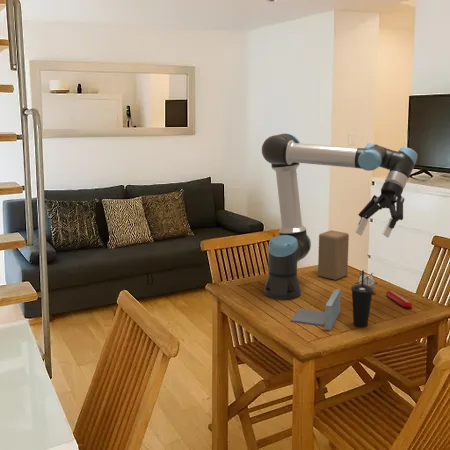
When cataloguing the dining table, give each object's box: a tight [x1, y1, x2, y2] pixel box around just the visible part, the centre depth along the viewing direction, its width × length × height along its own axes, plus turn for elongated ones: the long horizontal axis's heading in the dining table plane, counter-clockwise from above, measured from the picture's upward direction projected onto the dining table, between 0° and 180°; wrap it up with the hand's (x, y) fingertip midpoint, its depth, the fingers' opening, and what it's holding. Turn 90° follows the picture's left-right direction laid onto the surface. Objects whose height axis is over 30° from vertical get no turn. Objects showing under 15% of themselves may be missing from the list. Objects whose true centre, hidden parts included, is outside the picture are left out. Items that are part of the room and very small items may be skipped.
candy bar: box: [386, 290, 413, 309], centre depth 220 cm, size 16×4×3 cm, turn 13°
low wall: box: [324, 288, 342, 331], centre depth 202 cm, size 2×18×9 cm, turn 158°
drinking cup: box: [350, 269, 374, 328], centre depth 197 cm, size 8×8×20 cm
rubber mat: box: [290, 308, 325, 327], centre depth 206 cm, size 12×12×1 cm
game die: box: [354, 272, 378, 295], centre depth 231 cm, size 9×8×10 cm
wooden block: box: [317, 229, 350, 281], centre depth 251 cm, size 10×10×20 cm
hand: (371, 234), depth 206 cm, fingers open, 13 cm apart
